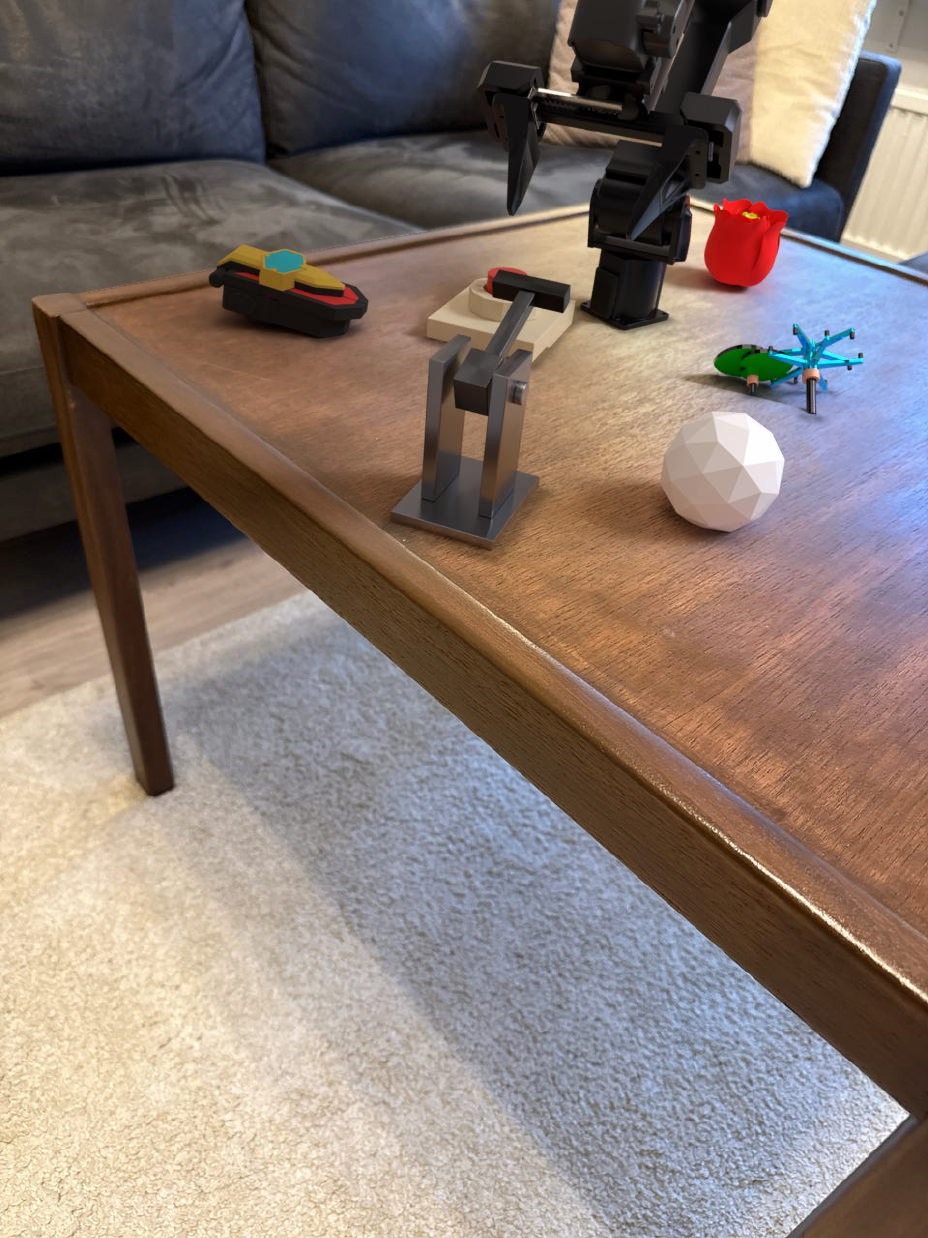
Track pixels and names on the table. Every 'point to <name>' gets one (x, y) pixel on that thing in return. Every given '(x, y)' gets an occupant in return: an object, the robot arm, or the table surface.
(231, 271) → the gadget
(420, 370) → the table surface
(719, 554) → the table surface
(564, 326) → the control box
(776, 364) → the stick construction toy
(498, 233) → the table surface
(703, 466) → the geometric ball
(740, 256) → the flower
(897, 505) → the table surface
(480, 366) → the press lever
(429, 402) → the grey metal stand
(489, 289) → the button
